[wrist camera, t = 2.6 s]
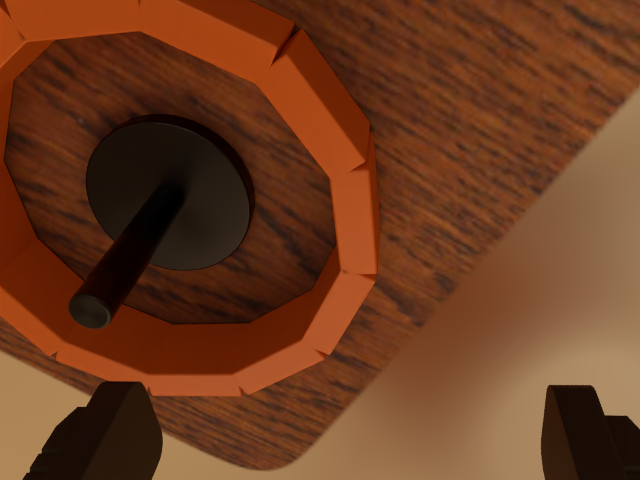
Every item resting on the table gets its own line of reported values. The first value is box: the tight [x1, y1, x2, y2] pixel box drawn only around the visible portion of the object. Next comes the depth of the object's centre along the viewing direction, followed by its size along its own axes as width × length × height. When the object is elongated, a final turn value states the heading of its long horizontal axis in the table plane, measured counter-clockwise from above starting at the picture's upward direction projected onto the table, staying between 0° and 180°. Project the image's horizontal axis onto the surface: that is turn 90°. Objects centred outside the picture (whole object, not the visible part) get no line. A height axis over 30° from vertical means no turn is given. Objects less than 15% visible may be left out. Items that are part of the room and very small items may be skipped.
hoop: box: [0, 0, 380, 396], centre depth 20 cm, size 15×15×3 cm
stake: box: [68, 114, 255, 329], centre depth 18 cm, size 6×6×7 cm
